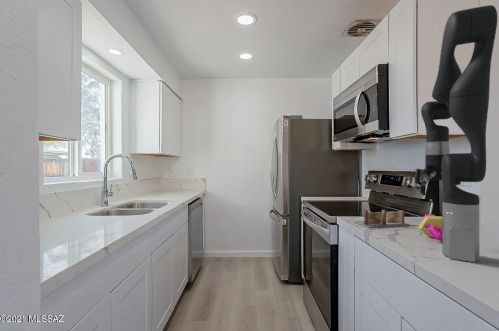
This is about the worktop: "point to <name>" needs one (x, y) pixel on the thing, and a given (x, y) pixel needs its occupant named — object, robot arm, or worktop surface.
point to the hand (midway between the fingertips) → (436, 195)
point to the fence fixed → (393, 217)
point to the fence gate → (372, 218)
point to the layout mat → (380, 224)
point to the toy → (432, 226)
